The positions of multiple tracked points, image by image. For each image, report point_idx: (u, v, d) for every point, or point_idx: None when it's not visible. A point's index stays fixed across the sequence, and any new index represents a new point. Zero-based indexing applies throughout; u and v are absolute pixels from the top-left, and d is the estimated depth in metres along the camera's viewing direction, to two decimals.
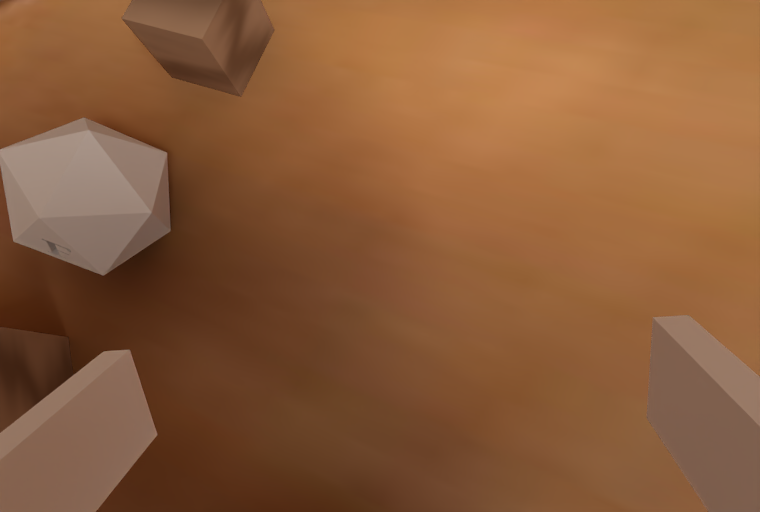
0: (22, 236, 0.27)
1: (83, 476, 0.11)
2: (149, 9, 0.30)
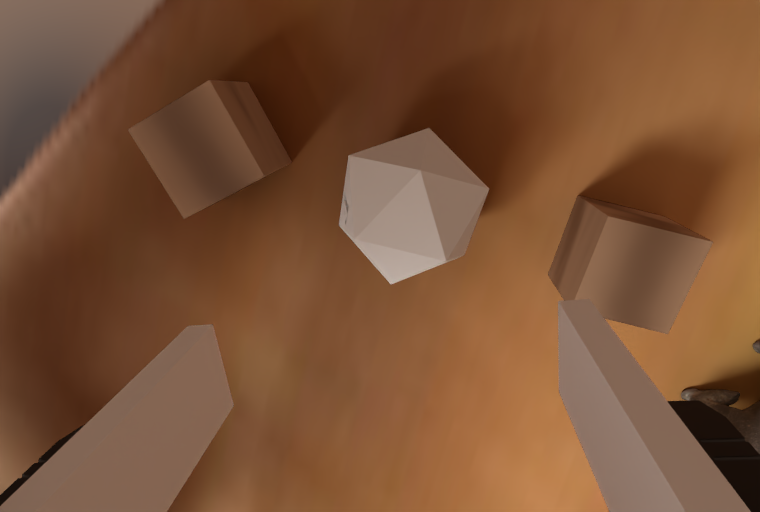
0: (349, 178, 0.28)
1: (183, 437, 0.11)
2: (616, 246, 0.27)
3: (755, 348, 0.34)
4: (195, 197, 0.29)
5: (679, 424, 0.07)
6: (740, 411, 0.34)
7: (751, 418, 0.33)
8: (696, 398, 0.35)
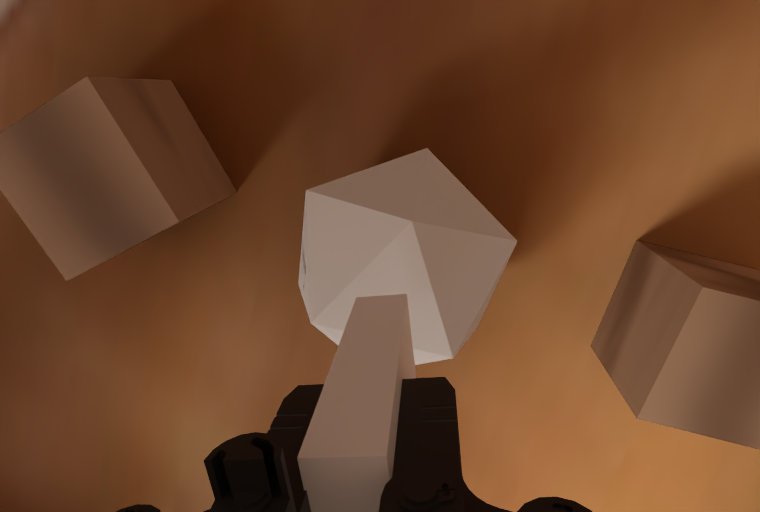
0: (306, 226, 0.18)
1: None
2: (713, 330, 0.18)
3: None
4: (80, 251, 0.20)
5: (391, 393, 0.09)
6: None
7: None
8: None
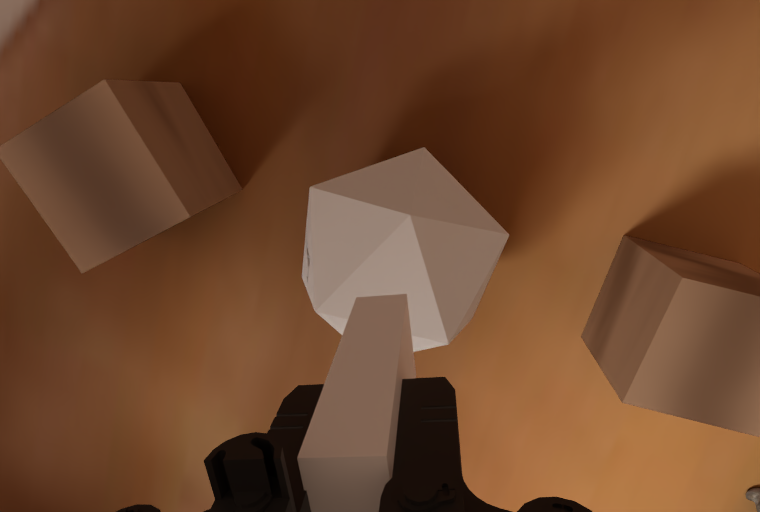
0: (310, 220, 0.20)
1: None
2: (692, 318, 0.19)
3: None
4: (95, 245, 0.21)
5: (391, 393, 0.09)
6: None
7: None
8: None
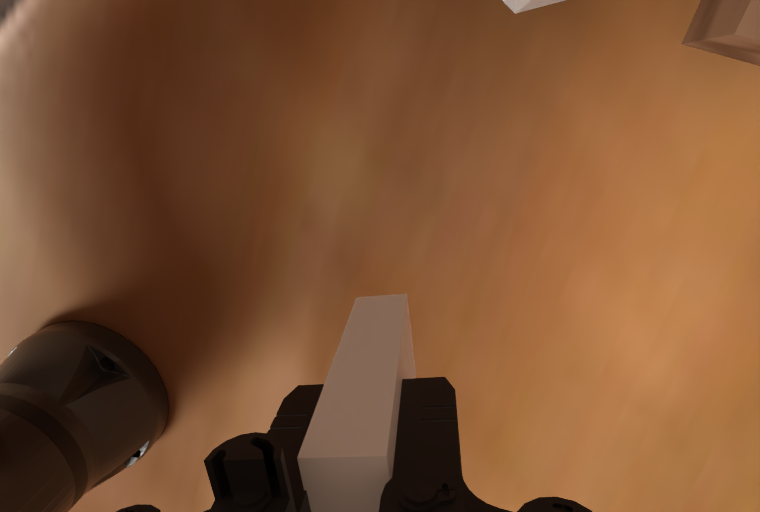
0: None
1: None
2: None
3: None
4: None
5: (391, 393, 0.09)
6: None
7: None
8: None
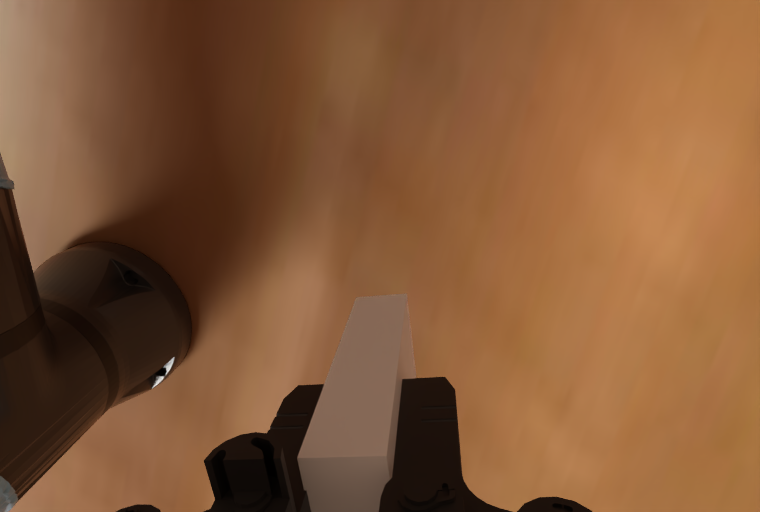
0: None
1: None
2: None
3: None
4: None
5: (391, 393, 0.09)
6: None
7: None
8: None
